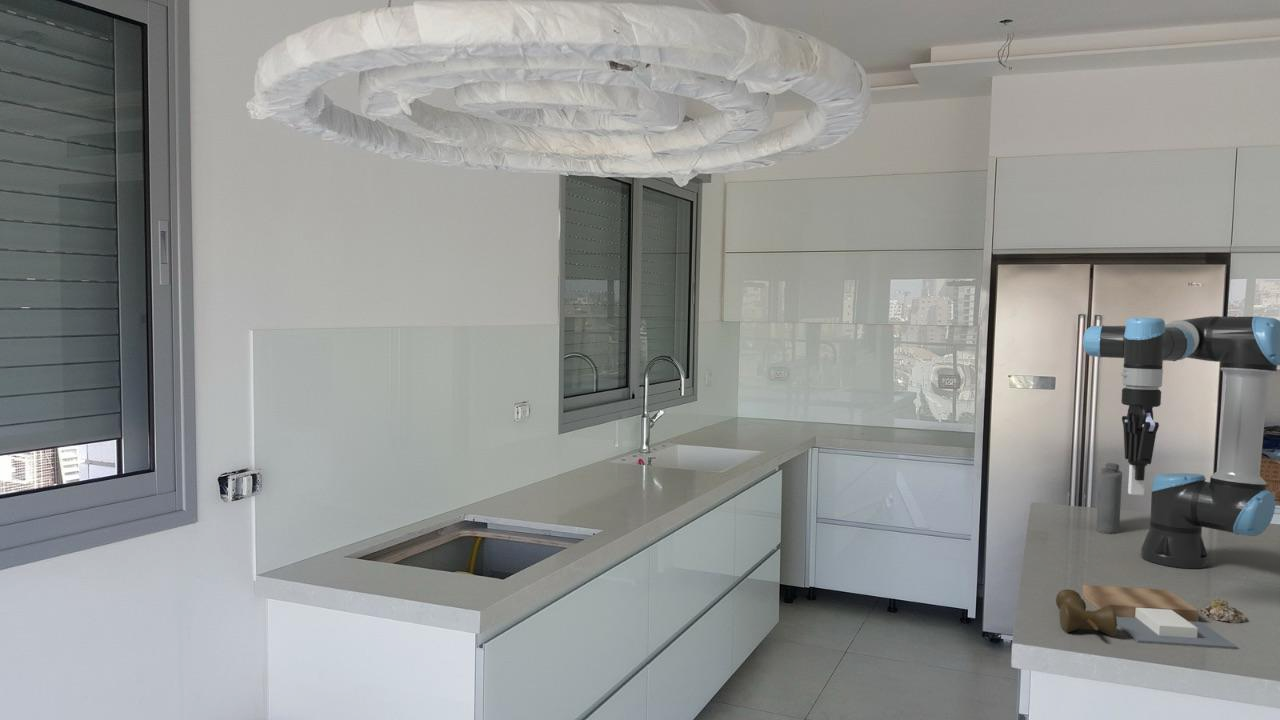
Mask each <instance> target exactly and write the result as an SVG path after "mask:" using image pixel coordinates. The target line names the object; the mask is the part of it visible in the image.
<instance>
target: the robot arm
mask: <svg viewBox="0 0 1280 720" xmlns="http://www.w3.org/2000/svg"><path fill="white" fill-rule="evenodd" d="M1082 340H1083V341H1082V347H1083V350H1084V352H1085V353H1086V354H1087V355H1088V356H1090V357H1097V358H1108V359H1109V358H1111V359H1112V358H1114V359H1115V358H1117V359H1123V369H1122V372H1120V375H1121V377H1122V385H1123V386H1125V387H1123V388H1122V389H1121V400H1120V401H1121V402H1120V403H1121V404H1122V405H1124V406H1128V409H1127V413H1126V415H1123V416H1122V417H1121V420H1122V421H1121V422H1122V426H1123V427H1122V428H1123V444H1124V445H1123V446H1124V448H1123V449H1124V459H1125V460H1127V462H1128V464H1129V470H1128V471H1129V472H1128V483H1127V484H1128V486H1127V487H1128V488H1127V493H1128V494H1129V495H1136V496H1145V484H1146V483H1145V479H1146V467H1147V465H1151V464H1152V460H1153V459H1152V458H1153V453H1154V447H1155V443H1156V442H1155V441H1156V437H1157V433H1158V429H1159V427H1160V425H1159V422H1158V421H1156V422H1155V421H1154V412H1153V408H1157V407H1160V406H1161V404H1162V390H1160V389H1159V388H1161V387H1162V386H1163V373H1164V369H1163V367H1164V366H1163V364H1164V363H1163V362H1164V361H1165V362H1167V361H1169V362H1171V361H1172V362H1177V361H1181V360H1184V359H1186V358H1187V359H1193V360H1199V361H1207V362H1218V363H1220V371H1221V372H1223V373H1224V375H1225V376H1226V381H1225V392H1224V403H1223V404H1224V405H1223V416H1222V425H1221V438H1220V446H1219V447H1220V448H1219V458H1218V468H1217V470H1216V471H1215V472H1214V473H1213V474H1211V475H1210V479H1209V481H1206V480H1207V479H1206V477H1205V475H1204V474H1200V473H1184V472H1183V473H1178V472H1177V473H1163V474H1162V473H1161V474H1158V475H1155V476H1154V478H1153V480H1152V486H1151V487H1152V488H1151V492H1150V493H1151V497H1150V500H1151V501H1150V503H1151V504H1150V520H1149V521H1150V524H1149V529H1148V530H1149V531H1148V532H1147V535H1146V537H1145V539H1144V541H1143V544H1142V545H1141V549H1140V557H1141V558H1142V559H1143V560H1146V561H1148V562H1151V563H1154V564H1158V565H1163V566H1167V567H1172V568H1181V569H1204V568H1207V567H1208V566H1209V565H1208V564H1209V556H1208V555H1209V554H1208V552H1207V549H1206V546H1205V542H1204V540H1203V535H1202V533H1203V531H1202V529H1203V528H1205V529H1206V528H1207V529H1210V530H1211V529H1212V530H1216V531H1221V532H1227V533H1232V534H1235V535H1236V536H1237V535H1241V536H1242V535H1243V536H1247V537H1249V536H1250V537H1258V536H1259V535H1262V534H1263V533H1264V532H1265V531H1266V530H1267V529H1268V527H1269V526H1270V524H1271V522H1272V520H1273V518H1274V514H1275V510H1276V497H1275V495H1274V493H1272V492H1271V491H1270V490H1267V481H1266V480H1264V478H1262V476H1261V473H1260V472H1261V463H1262V454H1263V453H1262V452H1263V443H1264V442H1263V441H1264V431H1265V420H1266V411H1267V409H1266V408H1267V397H1268V390H1269V389H1268V388H1269V379H1270V378H1271V377H1272V376H1274V375H1275V374H1277V371H1278V370H1277V369H1278V366H1280V320H1279V319H1277V318H1276V317H1268V316H1259V315H1257V316H1256V315H1255V316H1219V315H1218V316H1216V315H1213V316H1202V317H1195V318H1188V319H1187V318H1186V319H1181V320H1180V319H1178V320H1177V319H1176V320H1173V321H1170V322H1168V323H1167V324H1166V323H1165V320H1164V319H1163V318H1162V317H1161V318H1159V317H1130V318H1127V320H1126V323H1125V325H1103V324H1102V325H1092V326H1089V327H1088V328H1087V329H1086V330H1085V331H1084V334H1083V338H1082Z"/></svg>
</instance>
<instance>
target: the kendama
mask: <svg viewBox="0 0 1280 720" xmlns="http://www.w3.org/2000/svg"><path fill="white" fill-rule="evenodd" d="M1055 597H1056V598H1055V603H1056V606H1057V608H1058V610H1059V623H1060V624H1059V625H1060V628H1061V630H1062V631H1063V632H1064V633H1066V632H1068V633H1071V632H1074V631H1076V630H1078V629H1094V630H1095V631H1099V632H1102V633H1103V634H1105V635H1107V636H1108V637H1115V636H1116V633H1117V629H1118V625H1117V619H1116V614H1115V611H1114V609H1113V608H1112V606H1110V605H1107V606H1105V607H1103V608H1101V609H1096V610H1093V611H1092V610H1086V609H1087V605H1086V601H1085V600H1084V599H1083V598H1082V596H1081V595H1080V594H1079V592H1077V591H1075V589H1063V590H1061V591H1059V592H1058V593H1057V594H1056V596H1055Z"/></svg>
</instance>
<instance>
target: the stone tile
mask: <svg viewBox="0 0 1280 720" xmlns="http://www.w3.org/2000/svg"><path fill="white" fill-rule="evenodd" d="M1135 617H1136V618H1137V619H1139V620H1140V621H1141V622H1142V623H1144V624H1145V625H1146V626H1148V627H1149V628H1150V629H1151V630H1153V631H1154V632H1155V633H1157V634H1158V635H1159V636H1174V637H1189V638H1197V630H1198V628H1197V627H1195V626H1194V625H1193V624H1191V623H1190V622H1188V621H1187V620H1185V619H1184V618H1182V617H1181V616H1180V615H1178V614H1177V613H1175V612H1174V611H1172V610H1168V609H1152V608H1136V612H1135Z"/></svg>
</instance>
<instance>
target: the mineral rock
mask: <svg viewBox="0 0 1280 720" xmlns="http://www.w3.org/2000/svg"><path fill="white" fill-rule="evenodd" d="M1200 612H1201V614H1202V615H1203V614H1204V615H1203V616H1205V617H1206V618H1209V617H1210V619H1212V620H1216V621H1219V620H1220V621H1221V622H1229V623H1231V624H1240V623H1244V622H1246V620H1247V619H1248V618H1247V616H1245V614H1244V613H1243V612H1241V611H1240V610H1237V609H1236V608H1235V607H1232V606H1230V605H1229V602H1228V601H1226V600H1222V599H1219V598H1217V599H1213V601H1211V602H1209V604H1208V605H1207V606H1206V607H1203V608H1200ZM1220 621H1219V622H1220Z"/></svg>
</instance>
